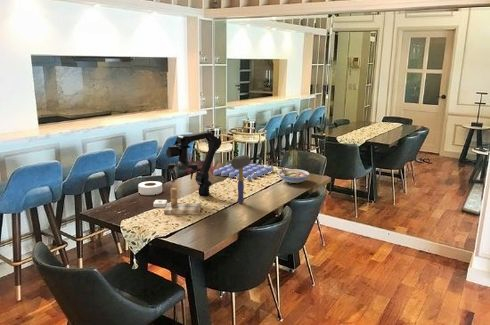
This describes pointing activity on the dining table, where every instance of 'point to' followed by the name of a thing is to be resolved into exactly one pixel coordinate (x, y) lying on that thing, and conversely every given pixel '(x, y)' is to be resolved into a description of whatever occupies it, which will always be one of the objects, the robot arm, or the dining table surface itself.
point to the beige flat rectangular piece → (183, 208)
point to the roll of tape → (150, 188)
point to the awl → (174, 198)
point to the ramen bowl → (293, 175)
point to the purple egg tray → (244, 171)
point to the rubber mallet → (240, 173)
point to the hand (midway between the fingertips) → (183, 179)
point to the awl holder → (160, 203)
